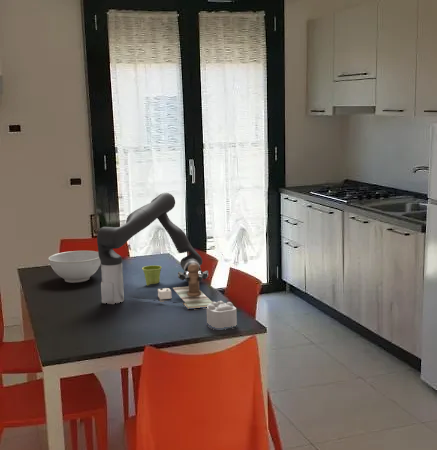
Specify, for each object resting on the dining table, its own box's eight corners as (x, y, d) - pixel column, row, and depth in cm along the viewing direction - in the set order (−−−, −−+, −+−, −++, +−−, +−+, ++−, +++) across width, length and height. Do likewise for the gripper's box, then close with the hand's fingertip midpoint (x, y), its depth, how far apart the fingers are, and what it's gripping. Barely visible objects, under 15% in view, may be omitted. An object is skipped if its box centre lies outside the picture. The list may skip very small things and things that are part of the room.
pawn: (197, 297, 280) (196, 265, 277) (185, 295, 282) (183, 264, 280) (203, 293, 285) (202, 262, 283) (191, 292, 288) (190, 261, 285)
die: (171, 301, 284) (171, 289, 283) (160, 303, 283) (159, 290, 282) (169, 298, 289) (168, 286, 288) (158, 299, 288) (157, 288, 287)
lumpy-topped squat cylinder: (215, 331, 244) (214, 309, 242) (201, 321, 256) (201, 300, 254) (240, 327, 248) (239, 305, 247) (225, 318, 260) (225, 297, 258)
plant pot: (141, 287, 308) (140, 270, 307) (144, 282, 318) (143, 265, 316) (161, 287, 308) (160, 269, 306) (163, 282, 317) (162, 265, 316)
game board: (215, 307, 274) (215, 303, 274) (187, 310, 271) (187, 306, 271) (196, 288, 305) (196, 285, 304) (171, 290, 301) (171, 287, 301)
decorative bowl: (112, 274, 337) (111, 251, 335) (90, 287, 311) (88, 263, 309) (65, 272, 343) (64, 249, 341) (39, 285, 318) (38, 261, 316)
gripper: (176, 262, 295) (177, 271, 278) (207, 261, 296) (210, 270, 279) (177, 278, 297) (177, 288, 280) (208, 277, 298) (210, 287, 281)
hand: (194, 279), depth 280 cm, fingers closed on pawn, 4 cm apart
